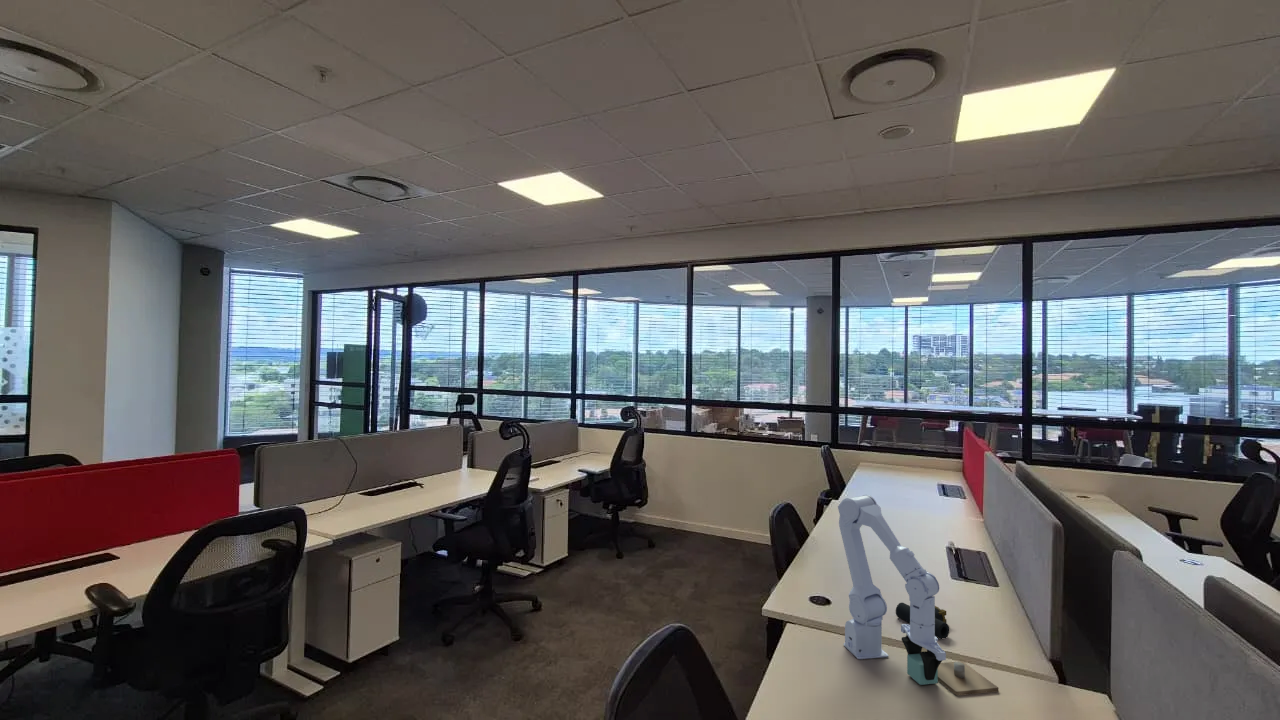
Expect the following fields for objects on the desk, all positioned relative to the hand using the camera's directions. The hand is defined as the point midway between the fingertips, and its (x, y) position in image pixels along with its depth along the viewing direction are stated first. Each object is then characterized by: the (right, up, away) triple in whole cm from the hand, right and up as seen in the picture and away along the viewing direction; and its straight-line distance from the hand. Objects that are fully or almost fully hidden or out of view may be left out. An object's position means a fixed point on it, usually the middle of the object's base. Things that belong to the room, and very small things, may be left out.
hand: (922, 672), depth 135 cm
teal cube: (0, -1, 0) cm, 1 cm away
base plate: (+10, -2, 0) cm, 10 cm away
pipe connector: (+18, -3, +29) cm, 35 cm away
